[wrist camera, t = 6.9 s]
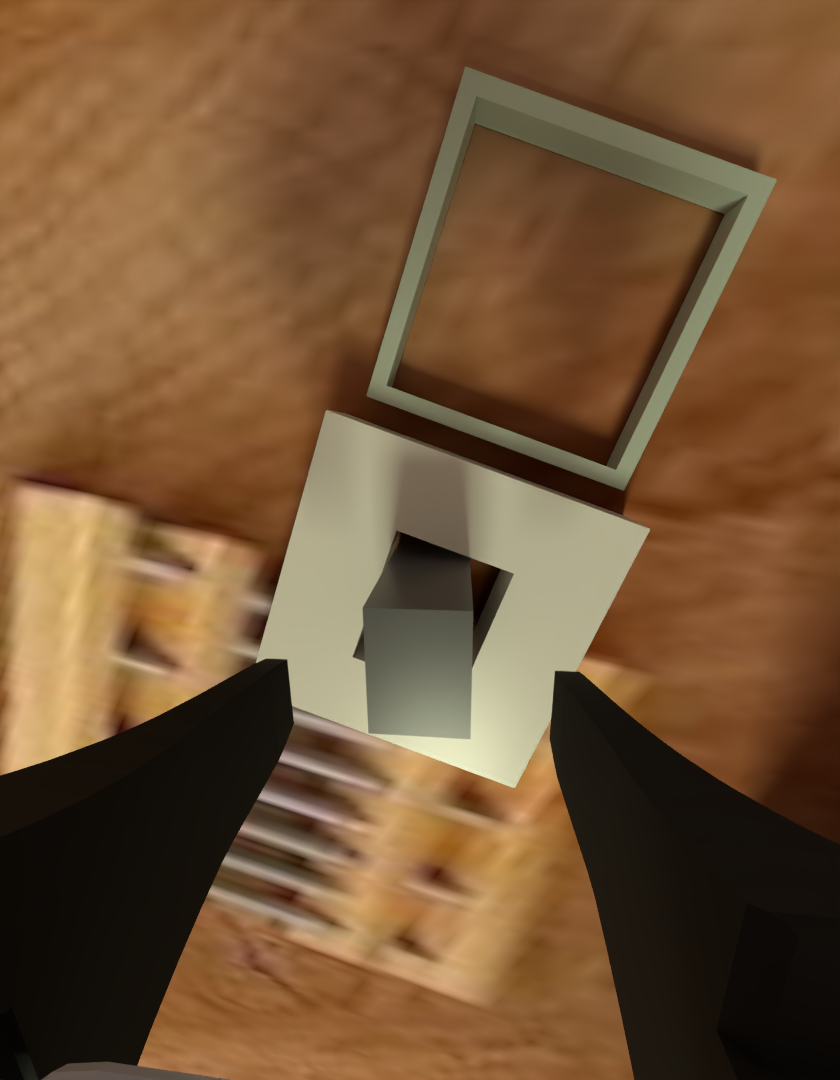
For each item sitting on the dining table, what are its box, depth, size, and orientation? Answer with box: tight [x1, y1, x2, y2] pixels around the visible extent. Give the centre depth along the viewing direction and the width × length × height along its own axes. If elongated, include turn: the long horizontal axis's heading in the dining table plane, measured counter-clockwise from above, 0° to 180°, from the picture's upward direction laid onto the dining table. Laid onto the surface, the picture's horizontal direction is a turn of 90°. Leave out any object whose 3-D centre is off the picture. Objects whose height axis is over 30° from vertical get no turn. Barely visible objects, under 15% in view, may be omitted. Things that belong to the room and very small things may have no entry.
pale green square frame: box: [366, 66, 777, 491], centre depth 15 cm, size 10×10×1 cm
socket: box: [256, 410, 650, 788], centre depth 17 cm, size 12×12×2 cm
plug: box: [363, 543, 473, 739], centre depth 15 cm, size 3×4×7 cm
